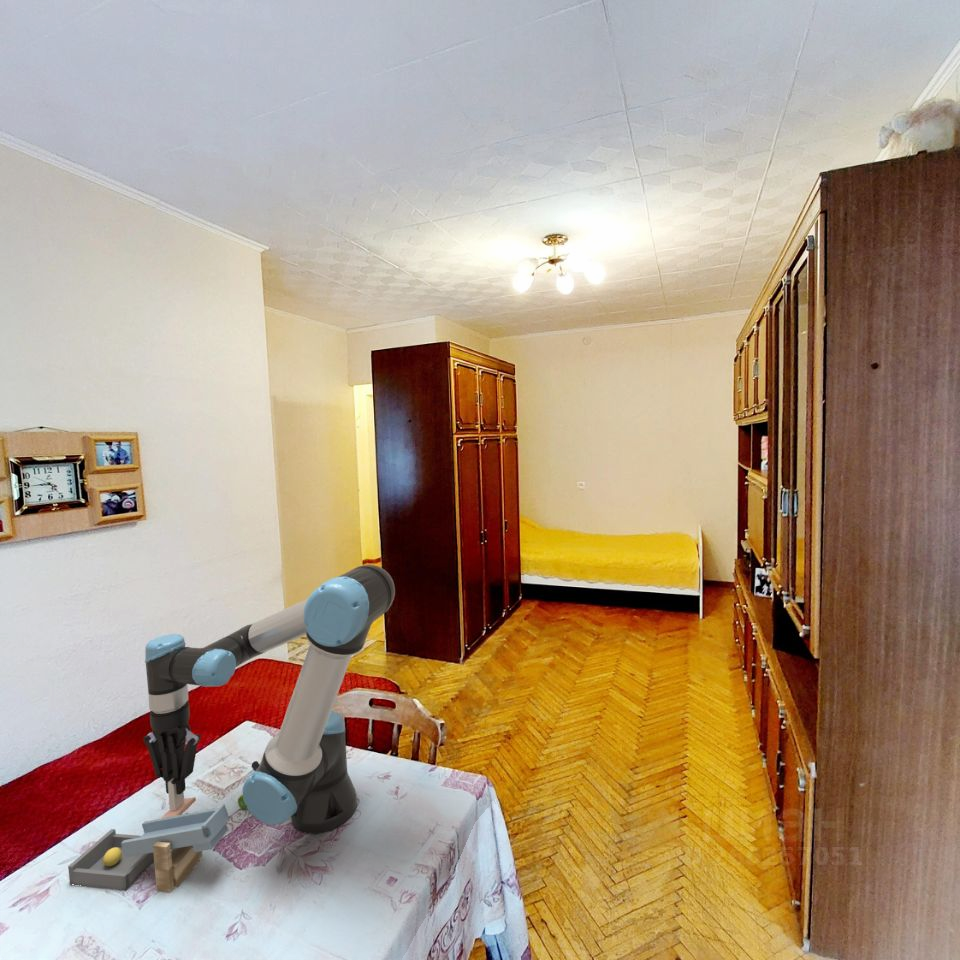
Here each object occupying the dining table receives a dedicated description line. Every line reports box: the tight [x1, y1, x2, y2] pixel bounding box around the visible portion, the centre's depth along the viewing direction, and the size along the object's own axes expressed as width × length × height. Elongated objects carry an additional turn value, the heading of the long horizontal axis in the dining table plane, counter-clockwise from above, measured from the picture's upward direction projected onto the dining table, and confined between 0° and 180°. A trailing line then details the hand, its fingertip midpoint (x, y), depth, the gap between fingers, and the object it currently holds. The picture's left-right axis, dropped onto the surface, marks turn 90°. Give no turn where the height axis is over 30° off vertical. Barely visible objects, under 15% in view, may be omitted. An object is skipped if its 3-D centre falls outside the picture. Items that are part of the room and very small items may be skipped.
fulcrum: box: [153, 812, 203, 893], centre depth 103 cm, size 4×9×10 cm, turn 171°
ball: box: [103, 847, 122, 866], centre depth 106 cm, size 3×3×3 cm
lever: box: [121, 796, 230, 857], centre depth 107 cm, size 20×16×5 cm
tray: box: [67, 828, 154, 892], centre depth 105 cm, size 13×10×4 cm
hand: (177, 805), depth 113 cm, fingers closed
